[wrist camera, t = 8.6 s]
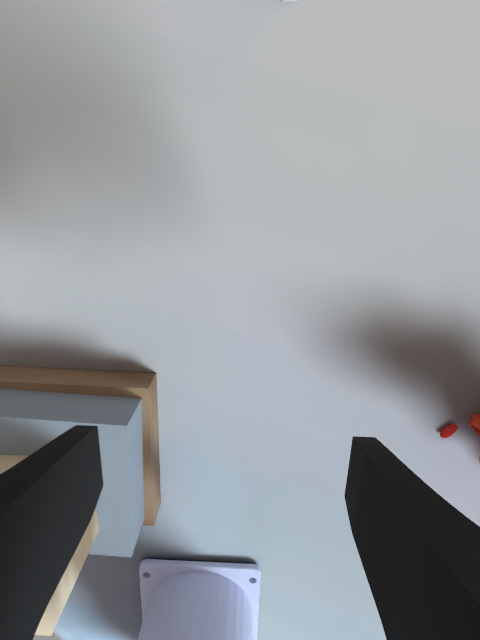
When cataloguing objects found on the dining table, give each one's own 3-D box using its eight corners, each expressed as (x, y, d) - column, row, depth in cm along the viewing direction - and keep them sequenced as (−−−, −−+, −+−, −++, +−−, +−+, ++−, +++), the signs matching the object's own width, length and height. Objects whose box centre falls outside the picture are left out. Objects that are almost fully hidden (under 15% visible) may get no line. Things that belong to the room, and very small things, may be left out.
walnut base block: (163, 494, 25) (153, 525, 23) (25, 487, 25) (2, 517, 23) (159, 367, 22) (148, 388, 20) (4, 360, 23) (-25, 380, 20)
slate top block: (144, 519, 23) (131, 557, 20) (8, 509, 23) (-20, 546, 21) (141, 398, 20) (126, 425, 18) (-11, 387, 20) (-46, 413, 18)
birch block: (99, 529, 20) (51, 635, 15) (14, 527, 20) (-60, 631, 15) (89, 456, 18) (32, 548, 14) (-2, 454, 19) (-90, 545, 14)
